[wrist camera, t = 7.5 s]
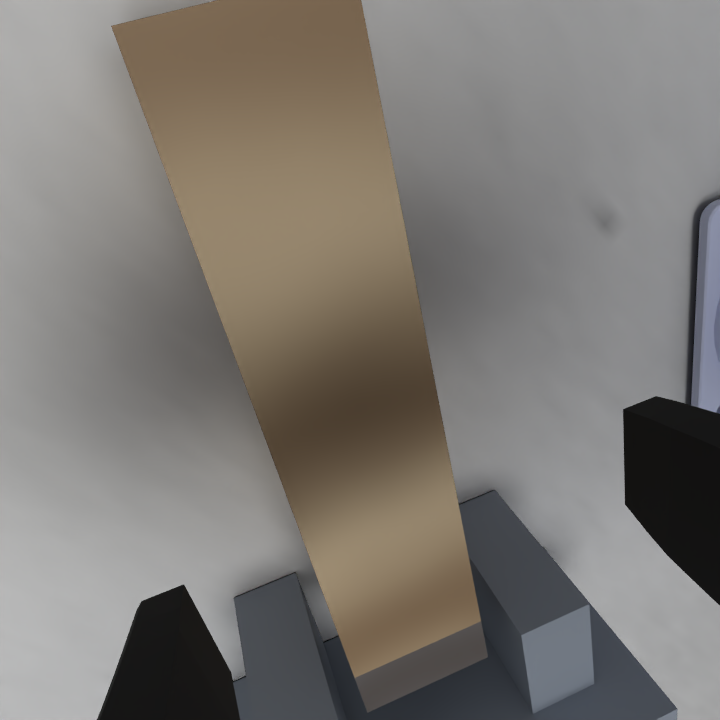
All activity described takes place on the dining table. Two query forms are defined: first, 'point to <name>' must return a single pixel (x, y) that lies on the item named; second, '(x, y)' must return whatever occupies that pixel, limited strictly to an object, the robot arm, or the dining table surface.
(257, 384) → the rail
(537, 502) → the dining table surface
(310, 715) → the grey stepped block
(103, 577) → the dining table surface
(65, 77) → the dining table surface
